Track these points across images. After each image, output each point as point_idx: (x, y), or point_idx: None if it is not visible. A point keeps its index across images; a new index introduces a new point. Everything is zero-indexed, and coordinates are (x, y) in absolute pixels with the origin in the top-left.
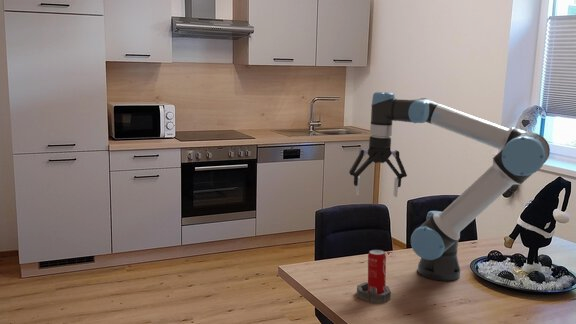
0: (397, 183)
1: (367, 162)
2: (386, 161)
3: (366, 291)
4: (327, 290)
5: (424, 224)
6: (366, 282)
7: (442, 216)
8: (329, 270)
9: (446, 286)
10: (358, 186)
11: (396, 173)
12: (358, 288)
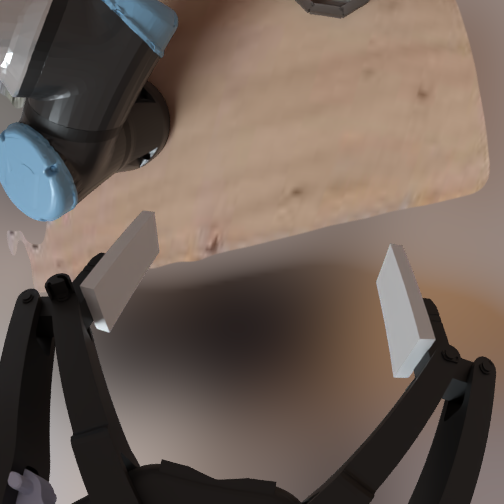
0: (102, 262)
1: (374, 483)
2: (117, 464)
3: (341, 1)
4: (432, 31)
5: (93, 28)
6: (339, 14)
7: (17, 7)
8: (398, 146)
9: None
10: (411, 284)
11: (73, 325)
12: None
